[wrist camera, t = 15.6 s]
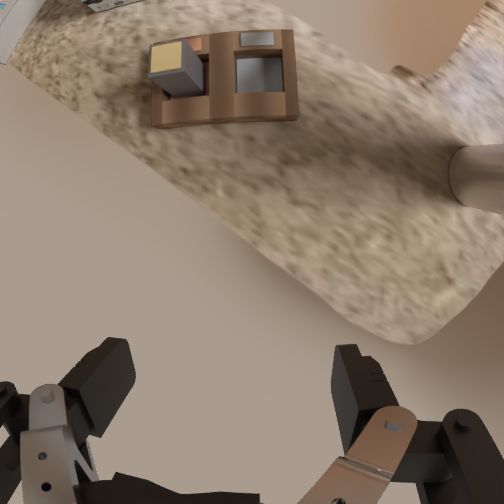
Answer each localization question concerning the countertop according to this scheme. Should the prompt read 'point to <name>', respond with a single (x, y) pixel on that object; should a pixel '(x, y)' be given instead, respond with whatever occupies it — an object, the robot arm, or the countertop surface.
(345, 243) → the countertop surface
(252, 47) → the dock
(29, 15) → the multi-port usb hub
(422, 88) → the countertop surface
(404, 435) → the robot arm
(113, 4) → the tea box
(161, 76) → the grey rectangular block
